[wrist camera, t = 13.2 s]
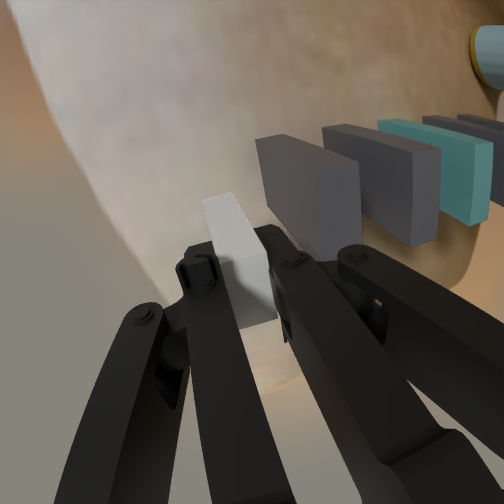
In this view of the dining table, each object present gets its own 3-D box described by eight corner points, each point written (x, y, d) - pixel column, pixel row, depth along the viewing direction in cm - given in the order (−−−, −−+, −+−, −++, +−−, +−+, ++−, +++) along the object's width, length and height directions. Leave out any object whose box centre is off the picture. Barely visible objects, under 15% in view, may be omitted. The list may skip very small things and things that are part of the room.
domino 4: (457, 163, 25) (536, 198, 16) (457, 114, 23) (542, 137, 14) (469, 161, 25) (545, 195, 17) (469, 114, 23) (550, 137, 14)
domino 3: (381, 179, 24) (469, 226, 15) (377, 120, 22) (475, 144, 13) (399, 175, 24) (487, 219, 16) (396, 118, 22) (493, 142, 13)
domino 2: (329, 191, 23) (410, 247, 15) (321, 127, 21) (412, 152, 12) (351, 185, 24) (436, 238, 15) (345, 123, 21) (441, 148, 13)
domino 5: (424, 170, 24) (509, 210, 16) (422, 116, 22) (515, 139, 13) (438, 167, 25) (521, 205, 16) (437, 115, 22) (527, 138, 14)
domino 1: (267, 206, 23) (324, 276, 14) (255, 139, 20) (314, 170, 12) (293, 199, 23) (362, 264, 14) (282, 133, 21) (358, 161, 12)
